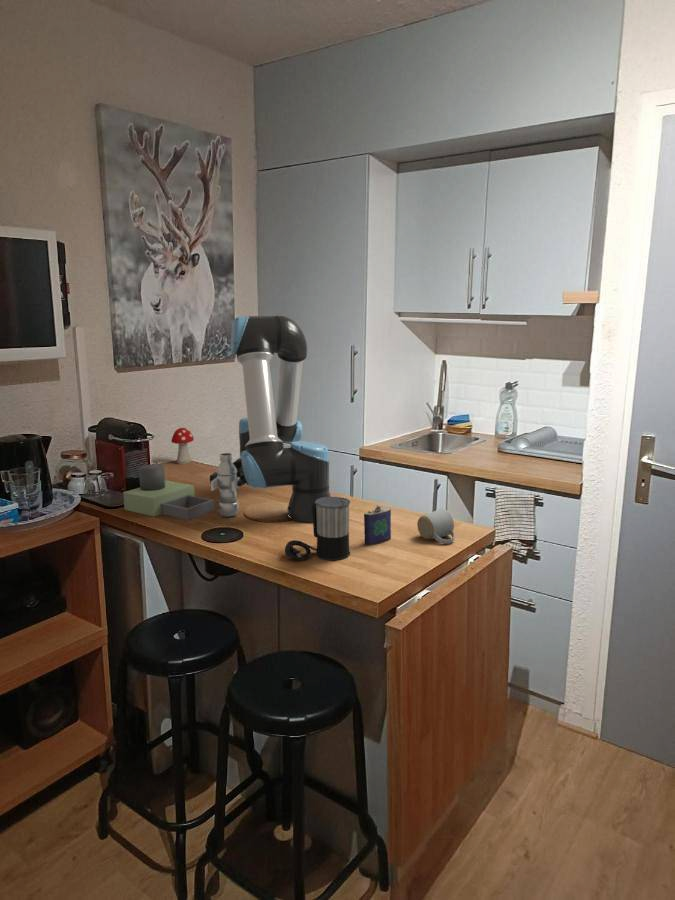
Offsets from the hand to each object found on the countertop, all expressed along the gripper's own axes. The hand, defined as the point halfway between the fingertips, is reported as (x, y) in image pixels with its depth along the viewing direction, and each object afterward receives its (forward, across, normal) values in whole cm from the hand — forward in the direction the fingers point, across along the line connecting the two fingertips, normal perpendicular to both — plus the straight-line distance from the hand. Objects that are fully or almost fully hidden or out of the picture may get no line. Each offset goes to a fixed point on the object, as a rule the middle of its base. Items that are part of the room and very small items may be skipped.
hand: (222, 486), depth 206 cm
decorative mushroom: (-75, +41, -11) cm, 86 cm away
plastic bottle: (-5, 0, -11) cm, 12 cm away
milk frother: (+26, -34, -11) cm, 44 cm away
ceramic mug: (+9, -66, -11) cm, 67 cm away
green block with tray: (-10, +21, -11) cm, 26 cm away
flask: (+13, -49, -11) cm, 52 cm away
